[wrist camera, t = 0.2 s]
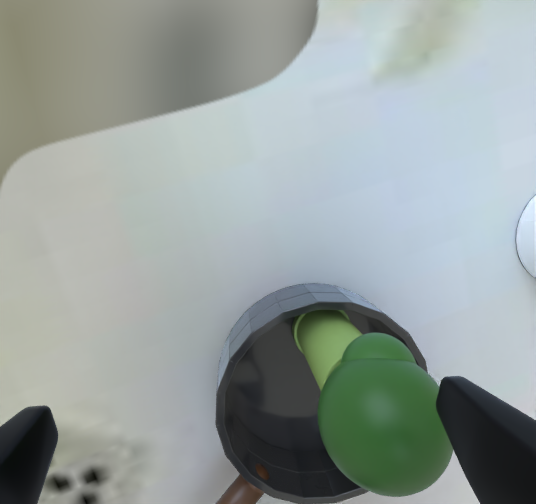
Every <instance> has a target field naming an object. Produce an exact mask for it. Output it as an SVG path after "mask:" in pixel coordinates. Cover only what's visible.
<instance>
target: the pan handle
mask: <svg viewBox="0 0 536 504" xmlns="http://www.w3.org/2000/svg"><path fill="white" fill-rule="evenodd" d="M255 468H256V471H257V473H258V474H259V475H260V476H261V477H262V478H263V479H265V480H268V479H269V473H268V471H267V469H266V468H265V467H264V466H263V465H262V464H259V463H257V464H256V465H255ZM264 493H265V492H263V491H261V490H260V489H258V488H257V487H255V486H254V485H252V484H250V483H249V482H247V481H246V480H245V479H244V478H243V477H242V476H241V474H240V475H239V476H238V477H237V478H236V480H235V481H234V482H233V483H232V484H231V486H230V487H229V488H228V489H227V490H226V492H225V493H224V494H223V495H222V496H221V498H220V499H219V500H218V501H217V502H216V504H256V502H257V501H258V500H259V499H260V498H261V496H262V495H263V494H264Z"/></svg>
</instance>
